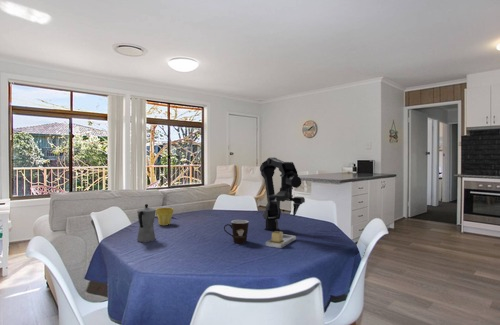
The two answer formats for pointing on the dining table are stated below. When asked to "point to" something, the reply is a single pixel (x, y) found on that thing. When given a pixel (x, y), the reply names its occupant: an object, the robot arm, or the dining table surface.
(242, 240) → the coffee mug
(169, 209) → the plant pot
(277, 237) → the golden block
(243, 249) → the dining table surface
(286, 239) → the rail
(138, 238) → the coffeepot
